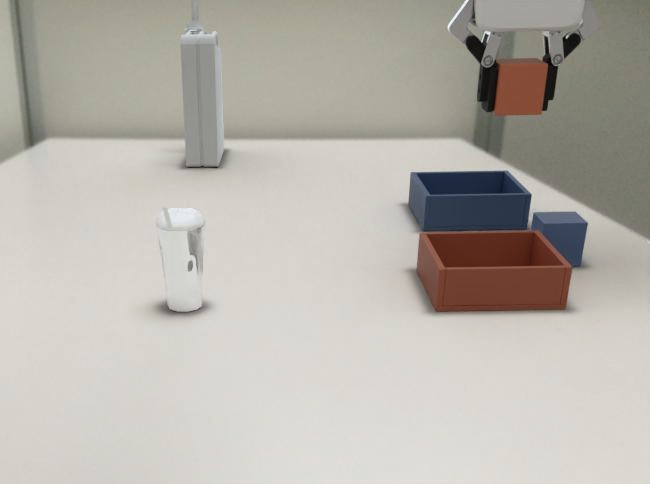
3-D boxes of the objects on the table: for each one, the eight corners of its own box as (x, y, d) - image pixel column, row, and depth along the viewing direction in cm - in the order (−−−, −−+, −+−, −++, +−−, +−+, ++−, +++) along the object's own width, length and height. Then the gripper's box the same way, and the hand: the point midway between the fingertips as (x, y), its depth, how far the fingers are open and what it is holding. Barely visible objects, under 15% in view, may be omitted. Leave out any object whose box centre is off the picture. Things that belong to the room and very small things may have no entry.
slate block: (568, 253, 105) (575, 211, 103) (580, 266, 102) (588, 222, 99) (527, 254, 105) (533, 212, 103) (537, 267, 102) (544, 223, 99)
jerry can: (194, 146, 156) (186, -33, 143) (225, 146, 156) (220, -34, 142) (184, 167, 144) (174, -27, 130) (218, 167, 143) (212, -28, 130)
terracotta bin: (533, 268, 101) (538, 230, 99) (565, 309, 91) (572, 267, 89) (416, 270, 101) (419, 232, 99) (435, 311, 91) (439, 269, 89)
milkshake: (149, 314, 91) (141, 205, 86) (173, 296, 96) (167, 191, 90) (192, 319, 90) (187, 209, 85) (215, 301, 94) (212, 195, 89)
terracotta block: (530, 107, 98) (537, 57, 96) (541, 114, 94) (548, 63, 92) (486, 107, 98) (491, 58, 96) (495, 115, 95) (500, 64, 92)
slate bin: (503, 203, 124) (507, 170, 121) (527, 229, 113) (532, 194, 111) (408, 204, 124) (410, 172, 122) (423, 231, 113) (425, 196, 111)
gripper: (622, -114, 89) (588, 101, 99) (438, -109, 90) (423, 104, 100) (649, -115, 83) (610, 114, 93) (451, -110, 83) (433, 118, 93)
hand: (513, 107), depth 96 cm, fingers closed on terracotta block, 4 cm apart
